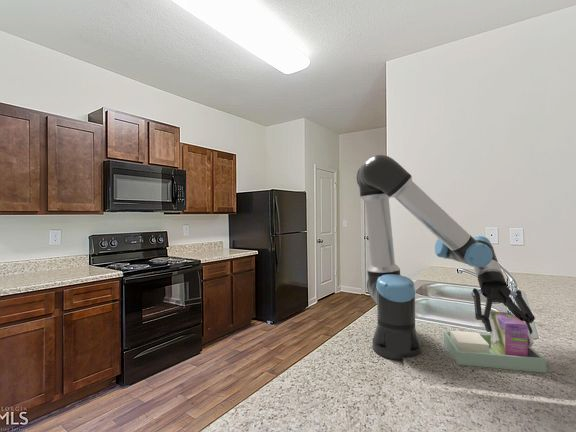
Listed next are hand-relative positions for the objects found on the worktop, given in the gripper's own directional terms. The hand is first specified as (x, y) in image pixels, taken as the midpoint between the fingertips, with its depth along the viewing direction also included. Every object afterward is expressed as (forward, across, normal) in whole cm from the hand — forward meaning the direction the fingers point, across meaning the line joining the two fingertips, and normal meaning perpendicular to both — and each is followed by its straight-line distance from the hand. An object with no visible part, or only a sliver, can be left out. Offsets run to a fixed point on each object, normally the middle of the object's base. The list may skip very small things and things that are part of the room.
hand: (513, 343), depth 86 cm
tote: (+2, +5, -7) cm, 9 cm away
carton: (+1, +10, -6) cm, 12 cm away
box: (+2, 0, -6) cm, 7 cm away
